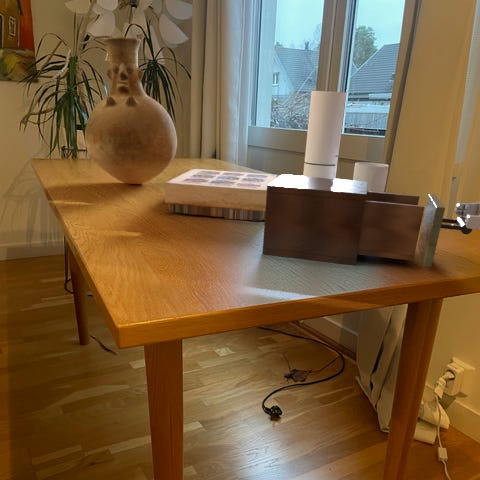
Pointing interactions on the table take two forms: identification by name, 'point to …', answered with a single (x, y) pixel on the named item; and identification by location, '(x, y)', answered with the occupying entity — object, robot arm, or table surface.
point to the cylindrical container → (324, 134)
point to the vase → (129, 122)
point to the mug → (371, 175)
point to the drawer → (403, 226)
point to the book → (219, 193)
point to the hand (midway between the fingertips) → (460, 214)
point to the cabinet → (314, 218)
